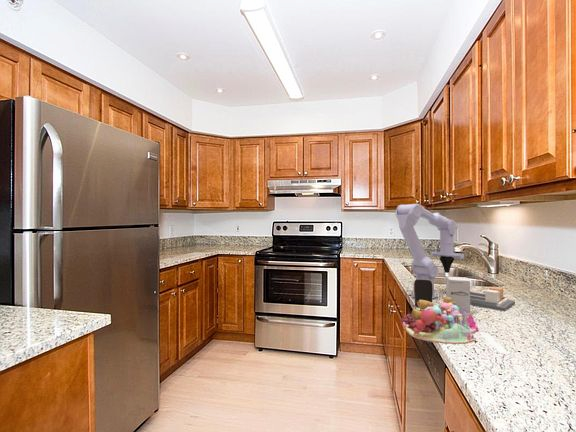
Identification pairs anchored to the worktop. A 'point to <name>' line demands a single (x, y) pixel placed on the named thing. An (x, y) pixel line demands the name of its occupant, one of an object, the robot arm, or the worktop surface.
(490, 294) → the cream white block
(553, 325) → the worktop surface
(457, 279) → the supplement box
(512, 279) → the worktop surface
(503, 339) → the worktop surface
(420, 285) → the battery charger
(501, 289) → the orange block
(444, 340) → the candy landscape model
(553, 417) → the worktop surface
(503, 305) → the gray compartment tray
